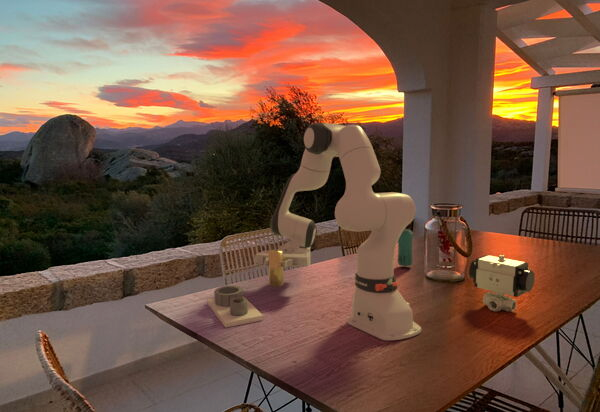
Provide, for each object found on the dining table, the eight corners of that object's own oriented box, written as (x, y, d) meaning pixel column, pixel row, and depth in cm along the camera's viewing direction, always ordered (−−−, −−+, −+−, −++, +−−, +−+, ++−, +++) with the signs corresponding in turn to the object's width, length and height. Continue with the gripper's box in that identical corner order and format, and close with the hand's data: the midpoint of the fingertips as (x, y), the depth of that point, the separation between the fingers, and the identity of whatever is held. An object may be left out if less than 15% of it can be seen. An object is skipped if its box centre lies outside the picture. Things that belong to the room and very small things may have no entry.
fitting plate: (263, 320, 130) (262, 302, 130) (225, 327, 125) (224, 309, 125) (241, 297, 150) (240, 282, 149) (207, 303, 145) (206, 287, 144)
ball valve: (465, 304, 141) (467, 252, 139) (477, 298, 146) (480, 248, 144) (521, 321, 127) (524, 263, 125) (532, 313, 133) (536, 258, 130)
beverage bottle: (412, 265, 188) (413, 221, 185) (412, 270, 181) (413, 224, 179) (397, 265, 189) (398, 221, 187) (397, 269, 183) (397, 223, 180)
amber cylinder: (285, 285, 147) (284, 251, 146) (272, 287, 145) (271, 253, 144) (280, 281, 152) (279, 248, 150) (267, 283, 149) (266, 250, 148)
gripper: (263, 245, 163) (247, 253, 150) (314, 248, 156) (302, 256, 143) (264, 261, 163) (248, 270, 150) (314, 264, 157) (302, 274, 144)
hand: (274, 264), depth 147 cm, fingers closed on amber cylinder, 5 cm apart
